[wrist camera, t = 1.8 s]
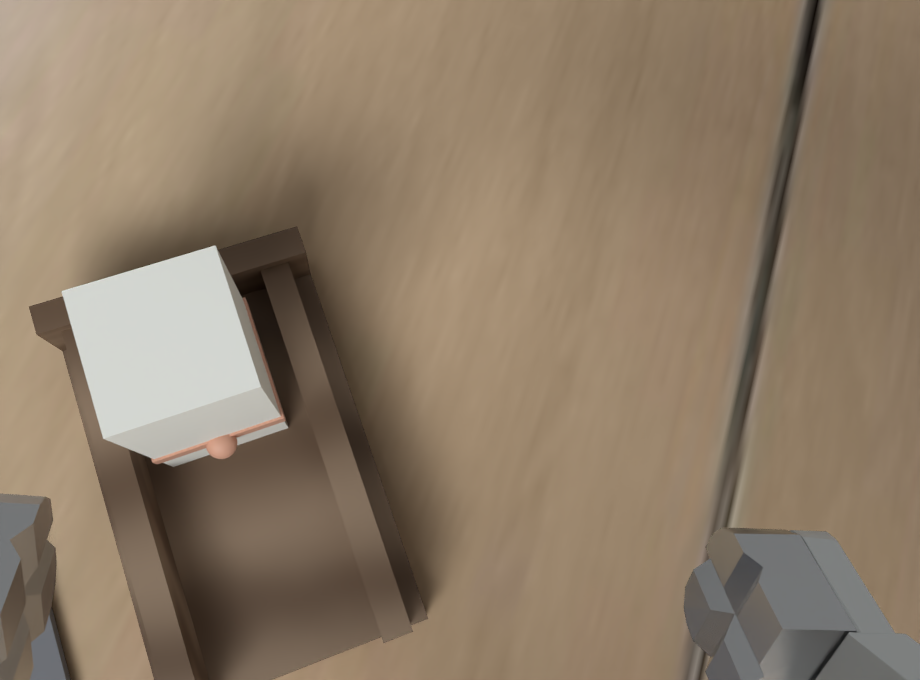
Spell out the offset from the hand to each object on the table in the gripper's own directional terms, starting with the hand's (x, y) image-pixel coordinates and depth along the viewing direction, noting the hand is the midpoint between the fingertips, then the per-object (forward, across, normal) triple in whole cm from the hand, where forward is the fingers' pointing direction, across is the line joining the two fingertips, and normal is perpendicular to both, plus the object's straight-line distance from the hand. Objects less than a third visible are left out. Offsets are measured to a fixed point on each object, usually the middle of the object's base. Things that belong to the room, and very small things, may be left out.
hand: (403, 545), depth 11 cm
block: (+23, +4, +16) cm, 28 cm away
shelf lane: (+21, +2, +20) cm, 29 cm away
